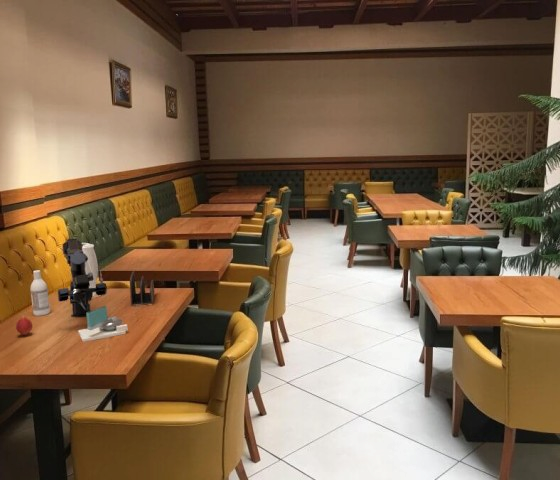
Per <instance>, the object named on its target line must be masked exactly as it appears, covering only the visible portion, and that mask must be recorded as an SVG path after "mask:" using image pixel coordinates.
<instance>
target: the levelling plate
mask: <svg viewBox="0 0 560 480" xmlns="http://www.w3.org/2000/svg"><path fill="white" fill-rule="evenodd" d="M128 330H129V329H128V324H122V325H120V326H116V329H113V330H101V329H99V327H98V328H96V329H93V330H88V329H87V328H83V329H79V330H77V331H78V335H79V336H80V338H81V340H82V342H83V343H85V342H91V341H96V340H99V339H100V340H101V339H105V338H110V337H115V336H120V335H125V334H126V333H127V332H126V331H128Z"/></svg>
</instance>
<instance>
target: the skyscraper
mask: <svg viewBox="0 0 560 480" xmlns="http://www.w3.org/2000/svg"><path fill="white" fill-rule="evenodd" d="M81 243H82V250H83V253H84V254H85V255H86V256H87V257H88V260H87V262H85V271H86V275H87V274H88V273H91V272H92V273H93V278H94V279H93V281H89V283H90V286H89V288H92V287H96V284H97V282H98V273H99V272H100V273H99V277H100V279H99V283H104V278H103V275H102V271H101V270H100V271H99V268H98V267H99V265H98V259H97V255H96V252H95V249H94V248H95V247H94V246H95V245H94V244H92V243H91V244H90V243H88V242H81ZM93 296H96V292H93ZM93 296H92V297H93Z"/></svg>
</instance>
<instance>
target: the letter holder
mask: <svg viewBox="0 0 560 480" xmlns="http://www.w3.org/2000/svg"><path fill="white" fill-rule="evenodd" d="M154 285H155V284H154V279H151V282H150V285H149V286H150V287H149V292H146V288H145V287H146V285H145V276H144V275H142V276H141V279H140V282H139V290H140V291H139V292H138V293H137V290H136V271H135V270H133V271H132V272H131V274H130V278H129V293H130V295H129V296H130V307H131V306H134V307H137V306H136V305H146V306H149V305H148V304H154V300H153V299H155V295H154V293H155V286H154ZM155 294H156V293H155Z"/></svg>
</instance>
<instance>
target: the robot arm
mask: <svg viewBox="0 0 560 480" xmlns="http://www.w3.org/2000/svg"><path fill="white" fill-rule="evenodd" d="M82 243H83V242H82V241H80V240H79V238H77V237H75V238H67V239H66V241H65V242H64V243H62V252H63V253H62V254H63V255H64V257H65V260H66V265H68V266H69V267H70V274H71V279H72V281H70V285H69V287H70V289H69V287H66V288H60V289H58V290H57V299H58V302H67V301H68V300H69V304H71V308H72V314H71V315H70V316H71V317H76V318H77V317H78V318H79V317H82V318H83V317H87V314H86V313H87V312H89V311H91V308H90V307H91V306H90V303H89V302H91V300H92V299H93V298H92V296H93V292H96V295H98V296H99V295H103V296H105V294H107V289H108V286H107V283H105V282H103V283H100V282H99V283H96V287H92V288H89V286H90V283H89V281H93V279H94V278H93V273H92V272H91V273H88V274H87V275H86V271H85V262H87V260H88V257H87V256H86V255H85V254H84V253H83V250H82V247H83V244H82Z"/></svg>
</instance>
